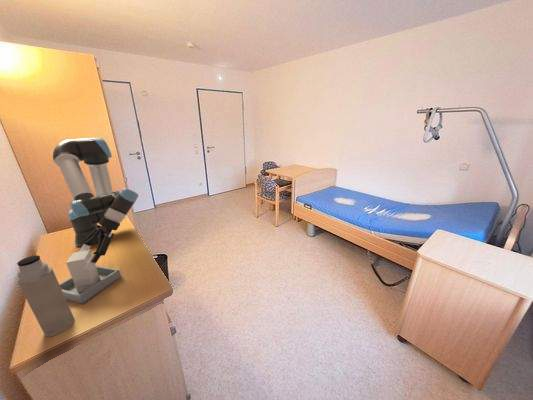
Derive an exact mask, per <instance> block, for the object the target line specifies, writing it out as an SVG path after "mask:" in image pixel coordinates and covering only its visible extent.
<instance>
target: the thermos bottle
mask: <svg viewBox="0 0 533 400" xmlns="http://www.w3.org/2000/svg"><path fill="white" fill-rule="evenodd" d="M42 261H43V260H41V257H40V255H32V256H31V255H30V256H27V257H25V258H23V259H20V260H18V262H17V263H16V264H17V266H18V269H19V271H18V272H17V280H16V281H17V284H18V285H19V288H20V290H21V292H22V294H23V295H24V297H25V299H26V301H27V304H28V305H29V307H30V309H31V311H32V312H33V315H34V317H35V319H36V320H37V323H38V325H39V326H40V328H41V331H42V332H43V335H44V336H45V337H54V336H57V335H60V334H62V333H64V332H65V331H66V330H68V329H69V328H70V327H71V326H72V325H73V324H74V322H75V317H74V314H73V312H72V311H71V308H70V306H69V303H68V300H66V299H65V296H64V294H63V292H62V290H61V287H60V285H59V284H60V283H59V281H58V278H57V276H56V274H55V272H54V269H53V267H51V266H49V265H48V263H47V262H44V261H43V262H42Z"/></svg>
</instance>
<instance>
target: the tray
mask: <svg viewBox="0 0 533 400" xmlns="http://www.w3.org/2000/svg"><path fill="white" fill-rule="evenodd" d="M95 265H96V264H95ZM96 268H97V271H98V274H99V277H100V279H99V281H98V283H96V284H95V285H93V286H92V287H90V288H89V289H87V290H86V291H84V292H80V293H78V292H77V289H76V287H75V284H74V282H73V279H72V277H71V276H70V277H68V279H66V280H64V281H62V282H61V283H59V285H60V287H61V290H62V292H63V294H64V296H65V299H66V301H67V302H68V301H69V302H72V303H75V304H79V305H82V306H83V305H86V303H88V302H90V301H91V300H92V299H94V298H95V297H96V296H98V295H99V294H100V293H102V292H103V291H104V290H106V289H107V288H109V287H110V286H111V285H113V284H114V283H116V282H117V281H118V280H120V279H121V278H122V274H121V271H120V269H117V268H112V267H108V266H107V267H106V266H101V265H96Z"/></svg>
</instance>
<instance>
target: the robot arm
mask: <svg viewBox="0 0 533 400" xmlns="http://www.w3.org/2000/svg"><path fill="white" fill-rule="evenodd" d="M110 158H112V152H111V150H110V147H109V145H108V143H107V142H106V140H104V138H102V137H88V138H86V137H84V138H70V139H69V138H68V139H64V140H63V141H61V142H59V143H58V144H57V145H56V146H55V148H54V149H53V152H52V159H53V162H54V165H55V166H56V167H58V168H59V169H60V173H61V174H62V176H63V179H64V180H65V183H66V185H67V189H68V190H69V192H70V195H71V197H72V199H73V201H70V202H69V205H70V208H71V209H70V210H69V211H68V214H67V215H68V219H69V221H70V222H71V223H70V224H71V226H72V229H73V231H74V234H75V235H74V244H75V247H77V246H79V247H78V248H80V249H79V251H78V252H80V251H85V250H89V249H90V250H91V247H92V246H93V245H92V244H94V243H96V249H95V251H94V252H93V253H92V257H91V258H90V260H89V261H88V263H87V264H86V266H85V267H84V269H87V270H92V269H93V267H94V266H95V265H96V264H97V262H98V261H99V260H100V258H101V257H102V256H106V253H107V251H108V249H109V246H110V243H111V241H112V239H113V237H114V235H115V233H114V232H112V231H117V230H118V229H119V227H120V225H121V223H122V222H123V221H124V220H125V219H126V216H127V214H128V213H129V212H130V211H131V208H132V207H133V206H134V204H135V203H136V202H137V199H138V198H139V194H138V193H137V192H135V191H134V190H132V189H129V188H128V187H122V189H120V191H119V190H115V191H114V190H113V187H112V182H111V178H110V174H109V168H108V165H107V164H108V163H109V162H110ZM80 162H83V164H84V165H87V167H88V169H89V173H90V176H91V180H92V185H93V188H94V192H95V195H96V196H95V195H94V193H93V191H92V189H91V187H90V185H89V183H88V181H87V178H86V176H85V174H84V172H83V170H82V168H81V166H80V164H79V163H80ZM97 242H98V243H97ZM89 245H90V246H89ZM94 245H95V244H94Z"/></svg>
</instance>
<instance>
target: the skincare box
mask: <svg viewBox="0 0 533 400" xmlns="http://www.w3.org/2000/svg"><path fill="white" fill-rule="evenodd" d="M79 251H80V250H79ZM79 251H75V252H72V254H71V255H70V257H69V258H68V259H67V260H66V266H67V269H68V271H69V274H70V278H71V277H72V279H73V282H74V284H75V287H76V289H77V292H78V293H80V292H84V291H86V290H87V289H89V288H90V287H92V286H93V285H95V284H96V283H98V281H99V279H100V277H99V274H98V271H97V268H96V264H95V266H94V267H93V269H92V270H87V269H84V267H85V266H86V264H87V263H88V261H89V260H90V258H91V257H92V255H93V253H92V252H91V248H90V249H89V250H85V251H80V252H79Z"/></svg>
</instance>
